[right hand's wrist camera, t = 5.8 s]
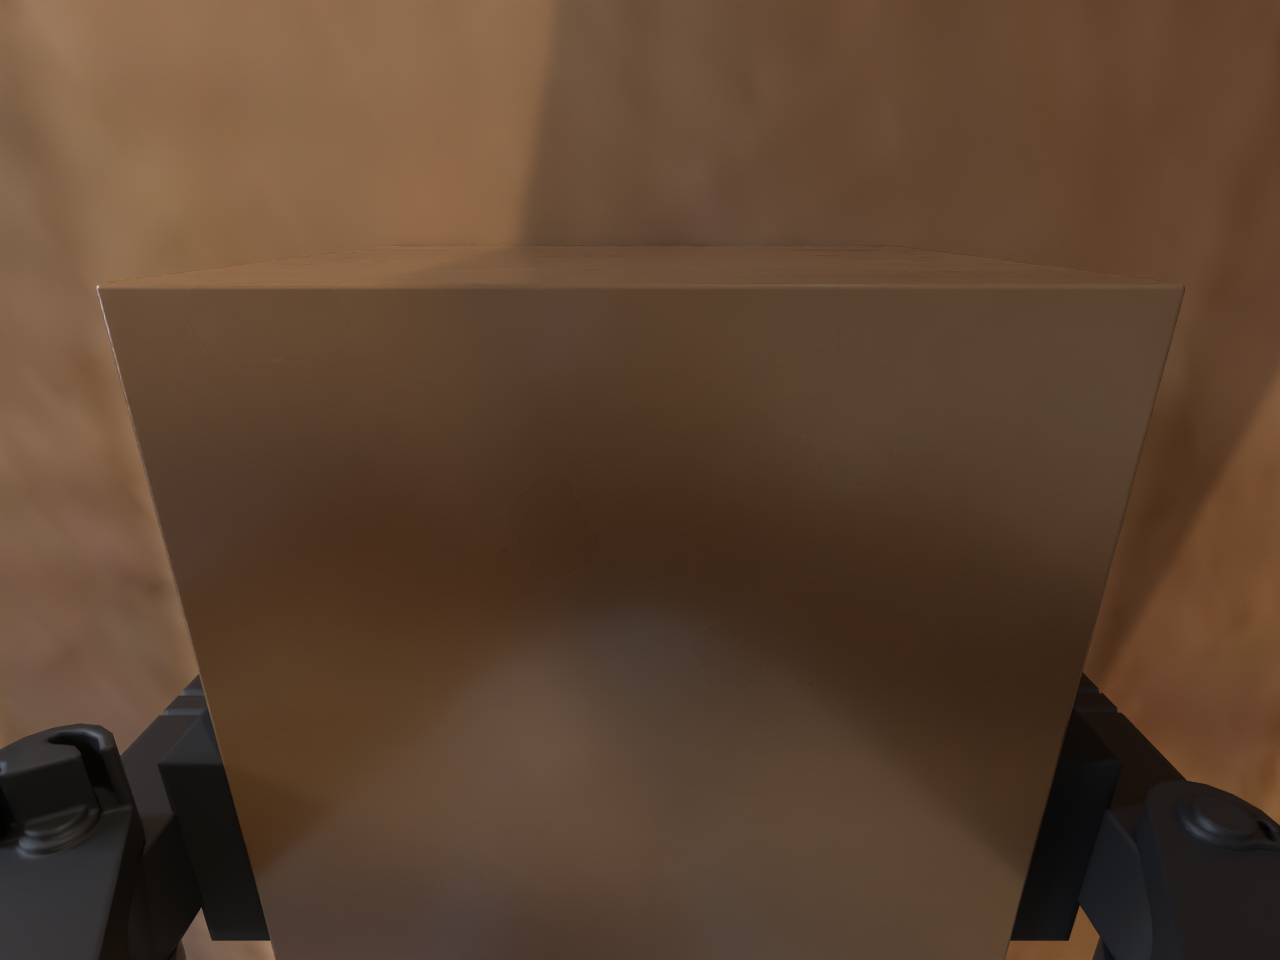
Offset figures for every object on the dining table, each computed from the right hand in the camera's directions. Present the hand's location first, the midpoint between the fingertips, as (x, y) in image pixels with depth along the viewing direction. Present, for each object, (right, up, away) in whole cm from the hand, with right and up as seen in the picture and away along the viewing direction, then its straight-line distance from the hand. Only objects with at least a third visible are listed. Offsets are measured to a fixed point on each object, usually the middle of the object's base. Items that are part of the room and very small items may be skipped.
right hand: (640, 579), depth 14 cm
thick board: (0, -22, +9) cm, 24 cm away
